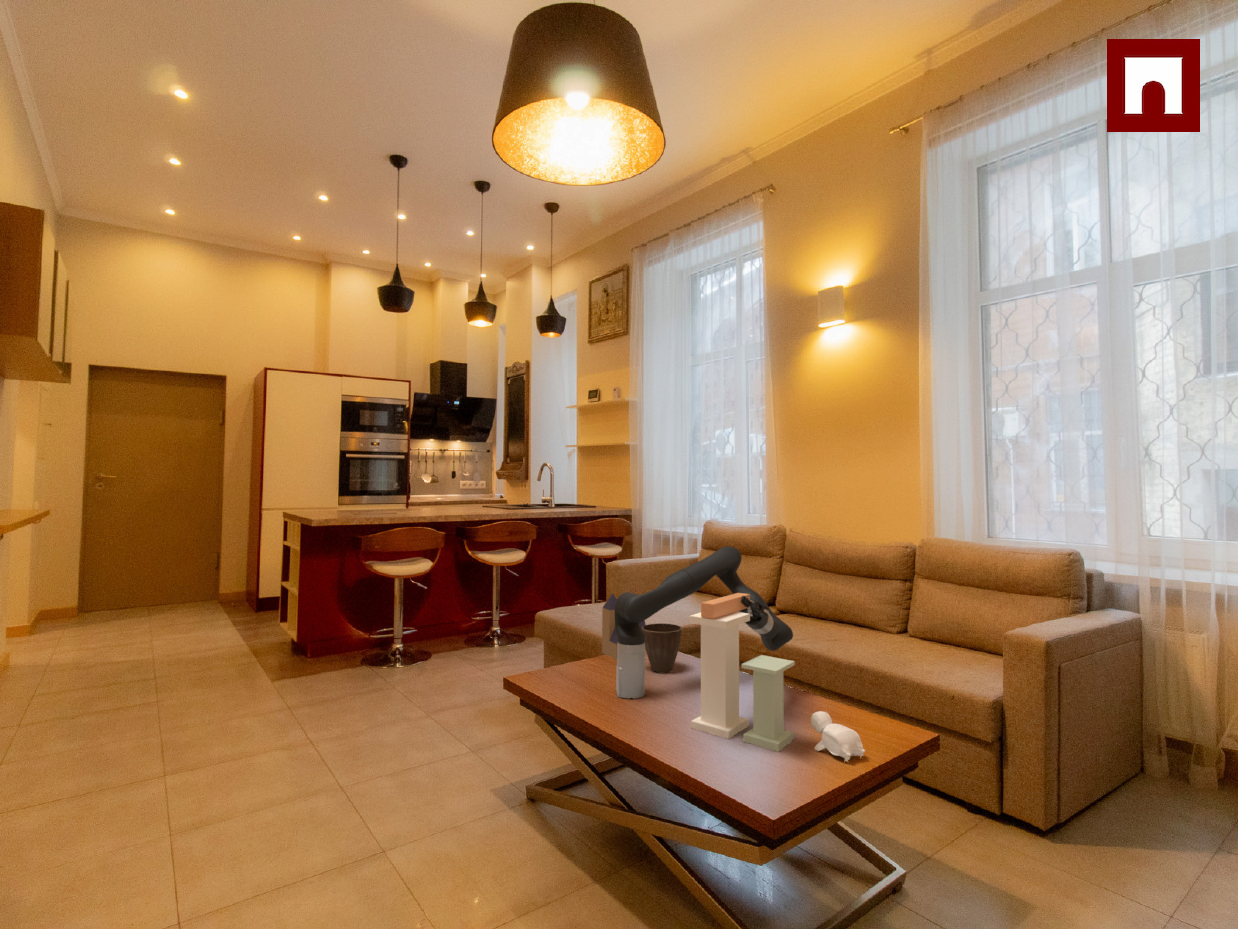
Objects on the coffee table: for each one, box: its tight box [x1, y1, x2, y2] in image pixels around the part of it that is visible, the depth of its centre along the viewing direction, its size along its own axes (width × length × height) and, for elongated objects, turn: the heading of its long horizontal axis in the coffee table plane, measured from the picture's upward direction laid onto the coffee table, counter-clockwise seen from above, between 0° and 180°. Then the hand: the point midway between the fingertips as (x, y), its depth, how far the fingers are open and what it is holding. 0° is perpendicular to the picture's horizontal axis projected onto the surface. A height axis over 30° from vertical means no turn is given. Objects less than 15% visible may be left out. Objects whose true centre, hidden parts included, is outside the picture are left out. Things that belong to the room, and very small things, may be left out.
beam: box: [700, 593, 750, 619], centre depth 179 cm, size 22×4×4 cm, turn 141°
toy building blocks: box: [601, 592, 647, 661], centre depth 254 cm, size 12×19×25 cm
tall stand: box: [688, 611, 750, 740], centre depth 176 cm, size 14×12×32 cm
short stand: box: [740, 654, 796, 753], centre depth 166 cm, size 12×10×21 cm
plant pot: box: [642, 623, 683, 674], centre depth 230 cm, size 15×15×16 cm
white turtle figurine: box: [810, 710, 866, 762], centre depth 159 cm, size 9×8×15 cm
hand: (735, 597), depth 184 cm, fingers closed on beam, 4 cm apart
